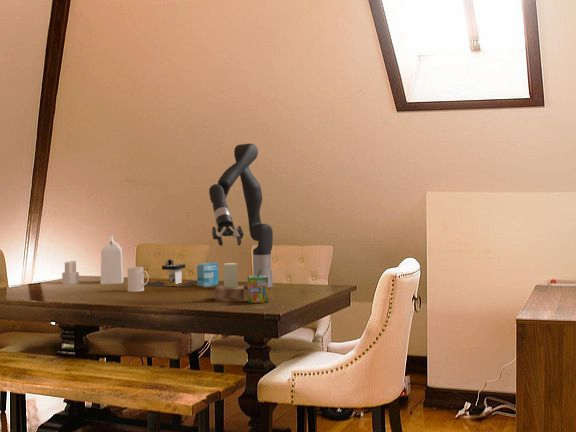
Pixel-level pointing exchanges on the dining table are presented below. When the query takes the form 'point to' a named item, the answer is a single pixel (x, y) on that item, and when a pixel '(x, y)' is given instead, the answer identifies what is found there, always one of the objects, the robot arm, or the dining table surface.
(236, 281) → the tea tin
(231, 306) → the dining table surface
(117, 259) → the milk
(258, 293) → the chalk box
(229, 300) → the walnut block
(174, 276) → the black-topped pedestal
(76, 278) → the cylinder with rectangular tab
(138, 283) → the mug
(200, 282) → the data package
